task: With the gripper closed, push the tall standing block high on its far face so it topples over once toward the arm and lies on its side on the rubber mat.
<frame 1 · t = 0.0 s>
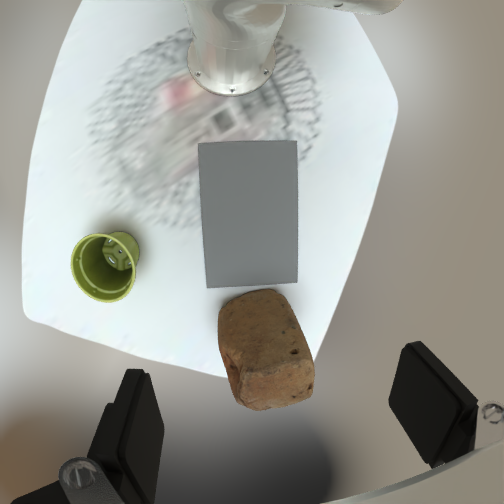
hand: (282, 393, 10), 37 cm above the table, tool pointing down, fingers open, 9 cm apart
block: (253, 310, 50), on the table
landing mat: (250, 215, 46), on the table
plant pot: (121, 250, 45), on the table
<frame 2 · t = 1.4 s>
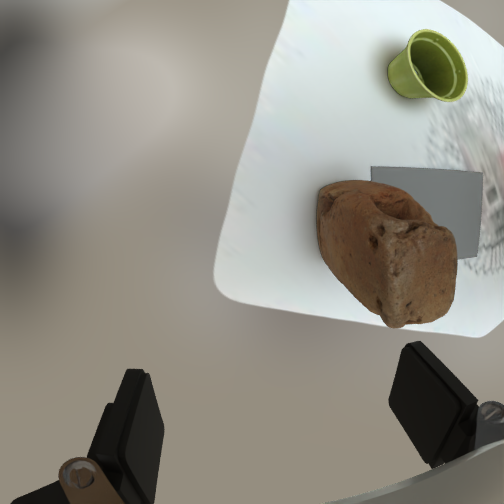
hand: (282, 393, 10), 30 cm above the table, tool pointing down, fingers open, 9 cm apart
block: (339, 220, 40), on the table
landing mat: (433, 216, 40), on the table
plant pot: (404, 78, 35), on the table
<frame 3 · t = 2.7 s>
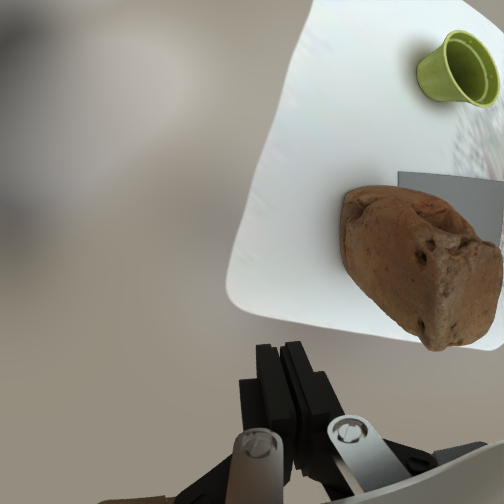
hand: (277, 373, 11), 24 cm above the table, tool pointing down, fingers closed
block: (363, 228, 36), on the table
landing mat: (456, 226, 37), on the table
plant pot: (432, 79, 31), on the table
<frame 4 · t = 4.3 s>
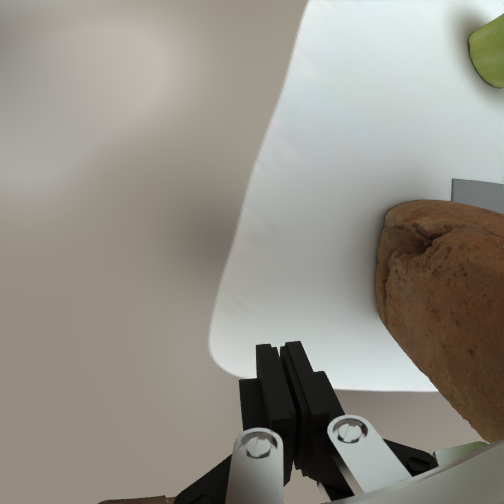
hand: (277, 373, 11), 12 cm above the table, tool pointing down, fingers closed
block: (406, 259, 24), on the table
plant pot: (485, 59, 19), on the table
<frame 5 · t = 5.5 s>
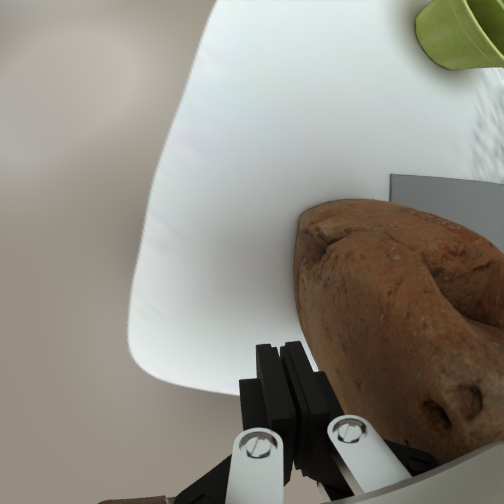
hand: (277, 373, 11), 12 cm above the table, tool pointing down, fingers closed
block: (334, 265, 23), on the table, touching gripper
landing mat: (474, 254, 25), on the table
plant pot: (438, 39, 19), on the table
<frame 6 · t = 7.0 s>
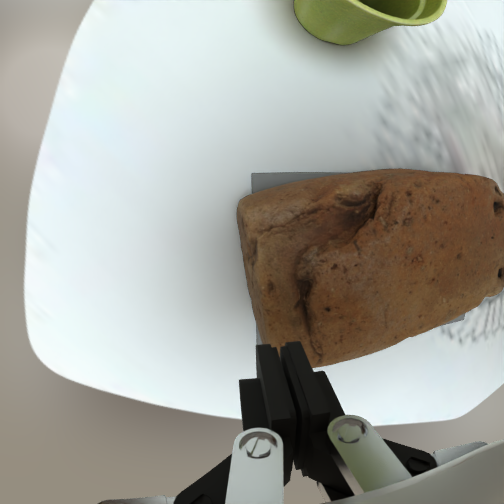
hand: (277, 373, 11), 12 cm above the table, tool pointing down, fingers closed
block: (245, 285, 19), point 4 cm above the table, touching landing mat
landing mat: (387, 261, 24), on the table
plant pot: (330, 13, 18), on the table
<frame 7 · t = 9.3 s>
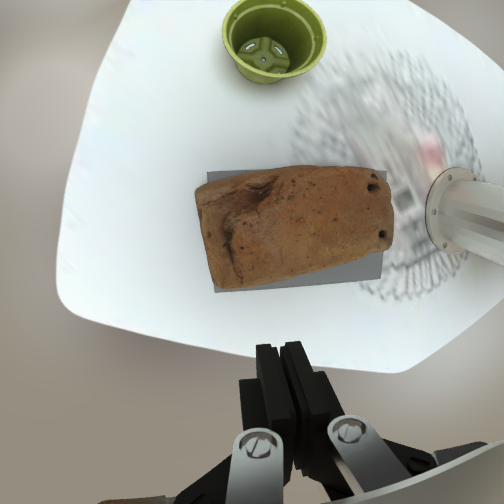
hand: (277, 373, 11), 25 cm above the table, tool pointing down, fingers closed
block: (200, 238, 31), point 4 cm above the table, touching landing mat
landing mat: (303, 229, 36), on the table
plant pot: (262, 60, 31), on the table
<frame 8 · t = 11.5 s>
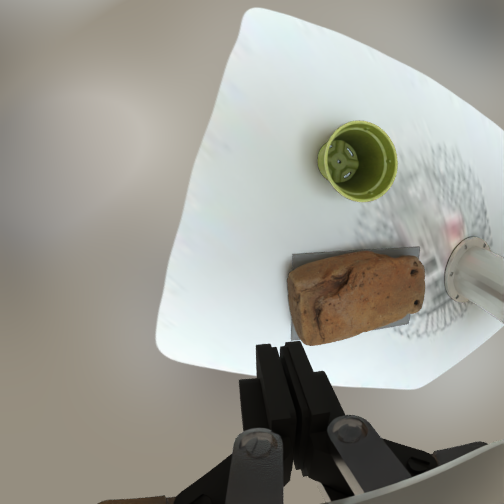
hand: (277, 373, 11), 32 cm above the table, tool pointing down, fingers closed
block: (291, 309, 42), point 4 cm above the table, touching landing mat
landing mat: (358, 293, 47), on the table
plant pot: (336, 160, 41), on the table
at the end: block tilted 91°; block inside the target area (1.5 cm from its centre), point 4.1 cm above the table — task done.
